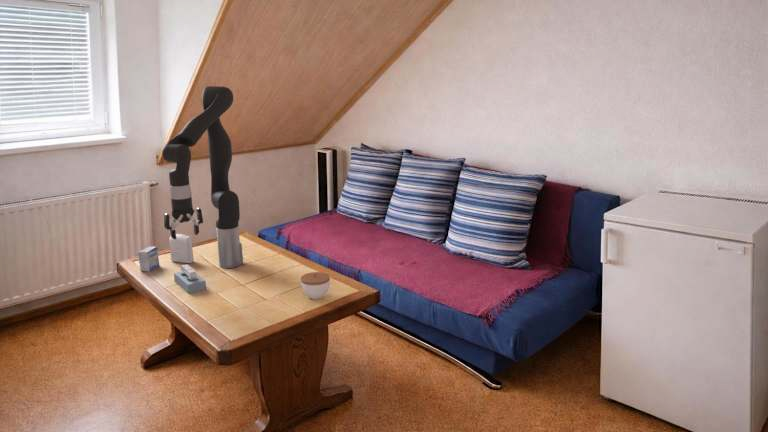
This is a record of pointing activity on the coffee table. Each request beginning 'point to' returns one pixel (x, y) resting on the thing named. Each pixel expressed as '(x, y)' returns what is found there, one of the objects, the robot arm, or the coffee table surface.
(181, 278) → the blue-grey slotted block
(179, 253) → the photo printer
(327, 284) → the lidded jar
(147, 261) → the medicine box
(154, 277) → the coffee table surface
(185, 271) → the metal block
